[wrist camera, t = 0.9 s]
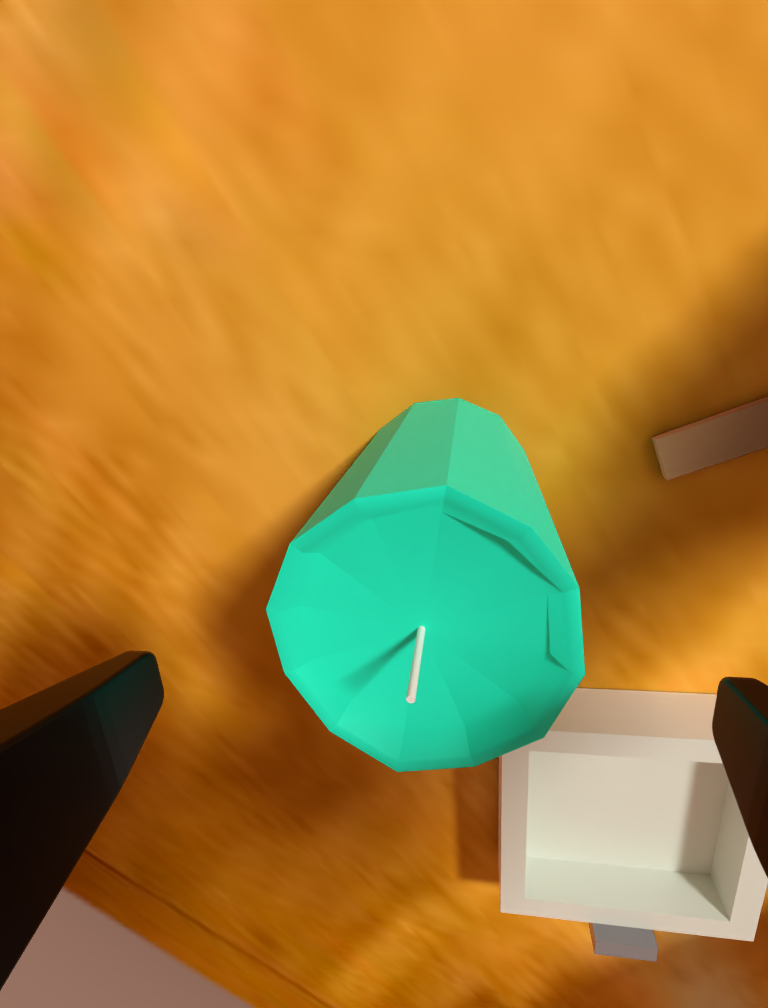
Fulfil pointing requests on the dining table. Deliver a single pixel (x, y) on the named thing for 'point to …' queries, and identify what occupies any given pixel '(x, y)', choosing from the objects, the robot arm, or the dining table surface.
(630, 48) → the dining table surface
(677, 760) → the white square tray
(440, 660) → the candle
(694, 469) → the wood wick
